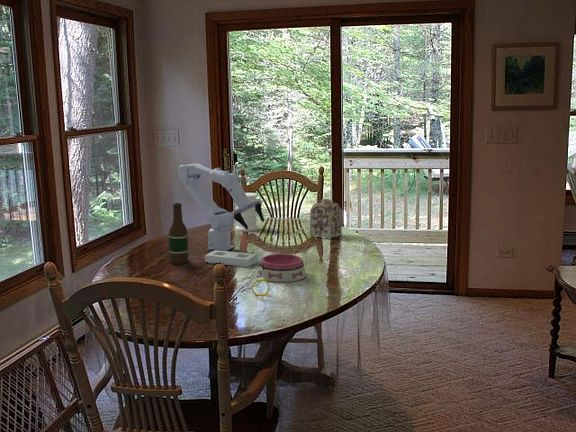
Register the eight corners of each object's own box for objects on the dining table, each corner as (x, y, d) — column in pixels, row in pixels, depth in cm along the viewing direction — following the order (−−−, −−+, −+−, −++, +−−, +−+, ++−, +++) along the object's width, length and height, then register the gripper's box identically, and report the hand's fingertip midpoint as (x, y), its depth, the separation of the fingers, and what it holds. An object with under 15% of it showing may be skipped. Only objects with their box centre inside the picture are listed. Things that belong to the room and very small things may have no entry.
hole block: (205, 262, 242) (204, 255, 241) (215, 257, 250) (214, 250, 250) (248, 266, 236) (248, 259, 235) (257, 261, 244) (257, 254, 243)
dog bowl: (313, 281, 218) (313, 263, 217) (264, 285, 213) (263, 266, 212) (298, 267, 236) (298, 251, 234) (252, 271, 231) (251, 254, 229)
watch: (252, 297, 200) (250, 280, 199) (252, 294, 203) (250, 278, 202) (270, 295, 201) (268, 278, 200) (269, 293, 203) (268, 276, 202)
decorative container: (257, 231, 299) (257, 196, 296) (234, 231, 299) (233, 196, 296) (258, 226, 310) (258, 192, 307) (236, 226, 311) (236, 192, 307)
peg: (238, 256, 251) (238, 235, 249) (241, 255, 254) (241, 234, 252) (245, 257, 250) (245, 236, 248) (248, 255, 253) (247, 234, 251)
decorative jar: (342, 235, 292) (342, 198, 288) (330, 239, 282) (331, 202, 279) (320, 232, 298) (321, 196, 295) (308, 236, 288) (309, 200, 285)
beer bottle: (192, 260, 245) (190, 202, 241) (182, 265, 238) (181, 205, 234) (175, 258, 248) (173, 201, 243) (165, 263, 241) (163, 204, 236)
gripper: (225, 201, 248) (240, 228, 244) (256, 187, 252) (271, 214, 249) (224, 207, 254) (239, 234, 251) (254, 193, 259) (269, 220, 255)
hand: (255, 224), depth 250 cm, fingers open, 7 cm apart
